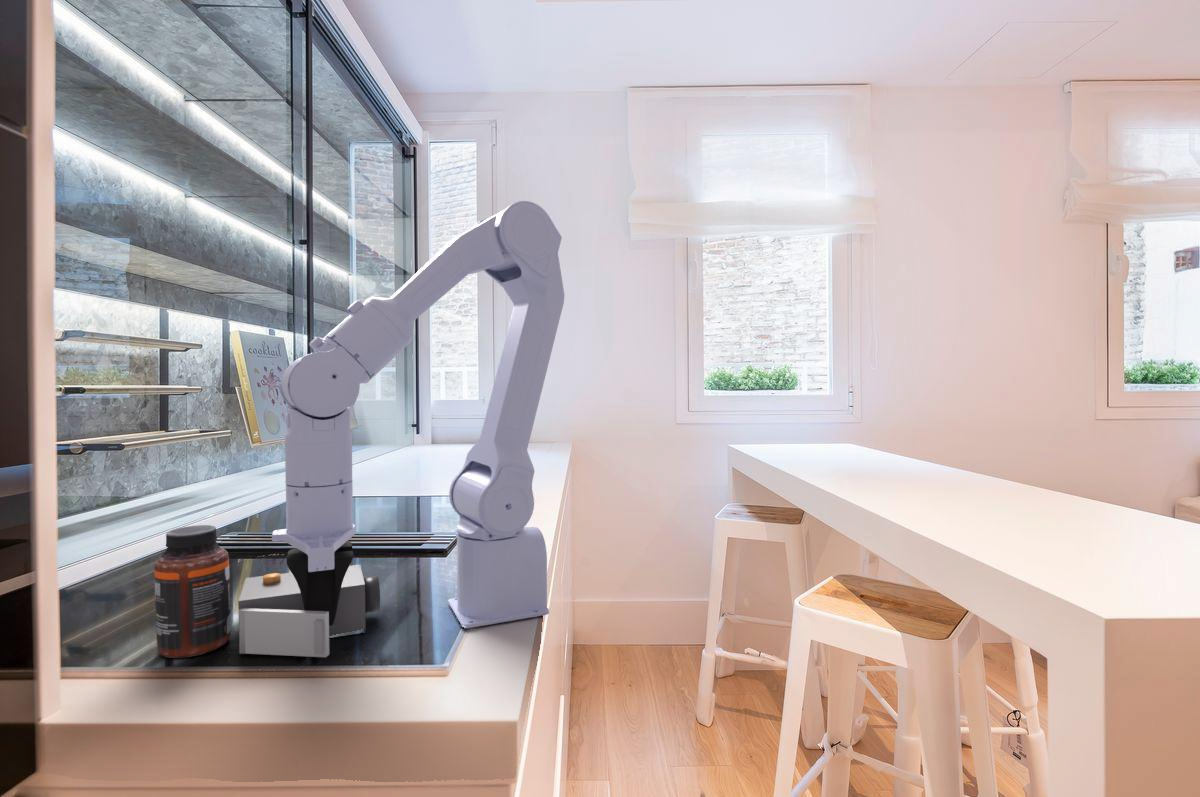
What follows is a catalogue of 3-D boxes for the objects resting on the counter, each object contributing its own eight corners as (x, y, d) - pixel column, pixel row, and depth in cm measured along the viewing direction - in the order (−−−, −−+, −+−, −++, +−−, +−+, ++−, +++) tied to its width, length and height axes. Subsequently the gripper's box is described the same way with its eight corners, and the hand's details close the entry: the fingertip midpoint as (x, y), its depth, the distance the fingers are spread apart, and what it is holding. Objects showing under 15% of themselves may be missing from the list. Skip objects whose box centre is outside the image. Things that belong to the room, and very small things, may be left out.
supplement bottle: (245, 635, 61) (243, 522, 61) (201, 663, 56) (198, 539, 55) (189, 632, 62) (187, 521, 62) (140, 659, 56) (136, 536, 56)
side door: (329, 653, 57) (329, 611, 56) (322, 659, 55) (322, 616, 55) (243, 649, 57) (242, 607, 57) (234, 655, 56) (233, 612, 56)
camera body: (376, 606, 69) (376, 557, 69) (383, 630, 63) (382, 576, 62) (246, 625, 64) (245, 572, 63) (239, 653, 57) (238, 594, 57)
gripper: (275, 472, 63) (277, 604, 63) (266, 500, 50) (268, 665, 50) (350, 468, 66) (351, 594, 66) (359, 493, 53) (361, 649, 53)
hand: (321, 624), depth 58 cm, fingers closed
